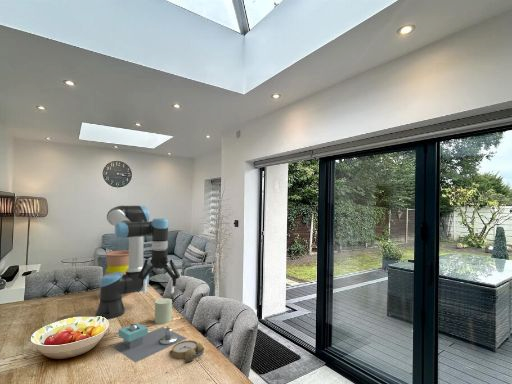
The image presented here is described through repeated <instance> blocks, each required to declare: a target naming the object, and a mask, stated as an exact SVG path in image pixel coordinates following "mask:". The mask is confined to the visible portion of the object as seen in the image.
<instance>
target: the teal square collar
mask: <svg viewBox="0 0 512 384" xmlns="http://www.w3.org/2000/svg"><path fill="white" fill-rule="evenodd" d="M135 324H137V330H135V331H132V332H131V331H130V325H127V326H124V327H121V328H119V329H118V337H119V338H121V339H124V340H126V341H128V342H130V341H133V340H135V339H138V338H140V337H143V336H145V335H148V333H149V332H148V331H149V329H148V327H147V326H144V325H142V324H140V323H139V322H136V323H135Z"/></svg>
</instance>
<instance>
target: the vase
mask: <svg viewBox="0 0 512 384" xmlns="http://www.w3.org/2000/svg"><path fill="white" fill-rule="evenodd" d="M104 256H105V257H106V258H105V259H106V262H107V263H106V264H107V268H106V270H105V272H104V275H103V276H105V275H108V274H111V273H118V272H121V273H122V274H123V275H124V274H126V270H127V269H128V268H129V249H128V250H111V251H108V252H104ZM131 294H132V293H128V294H123V295H122V298H125V297H128V296H130V295H131Z"/></svg>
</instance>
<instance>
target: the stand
mask: <svg viewBox="0 0 512 384" xmlns="http://www.w3.org/2000/svg"><path fill="white" fill-rule="evenodd" d="M129 326H130V331H131V332H132V331H135V330H137V324H136V323H133V324H130V325H129ZM122 339H123V338H122ZM122 343H123V345H124V346H126V347H128V348H129V349H131V348H133V347H136V346H138V345H141V344H143V337H140V338H138V339H135V340H133V341H130V342H128V341H126V340H124V339H123V342H122Z"/></svg>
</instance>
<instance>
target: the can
mask: <svg viewBox="0 0 512 384" xmlns="http://www.w3.org/2000/svg"><path fill="white" fill-rule="evenodd" d="M172 307H173V299H172V298H170V297H168V298H159V299H156V300H155V302H154V323H155V324H158V325H165V324H168V323H169V324H170V323H171V322H172V318H173V317H172V313H173V310H172V309H173V308H172Z"/></svg>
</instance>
